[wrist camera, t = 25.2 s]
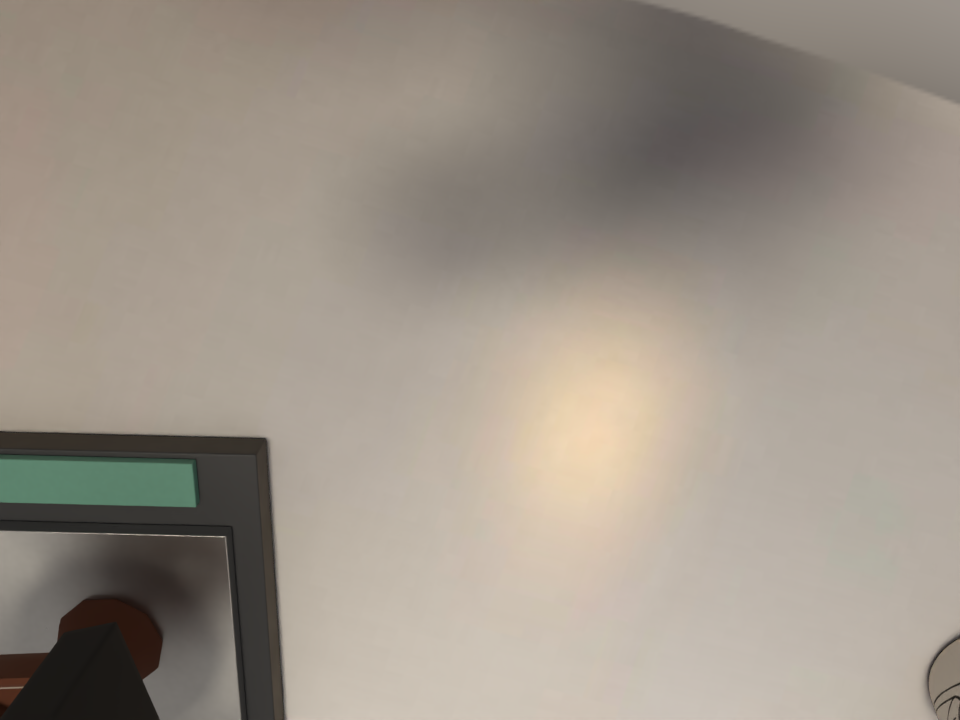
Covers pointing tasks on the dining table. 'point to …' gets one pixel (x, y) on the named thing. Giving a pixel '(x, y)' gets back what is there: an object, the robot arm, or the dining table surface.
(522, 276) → the dining table surface
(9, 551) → the scale pan
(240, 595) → the scale
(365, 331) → the dining table surface
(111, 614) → the ice cream bowl
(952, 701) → the mug
